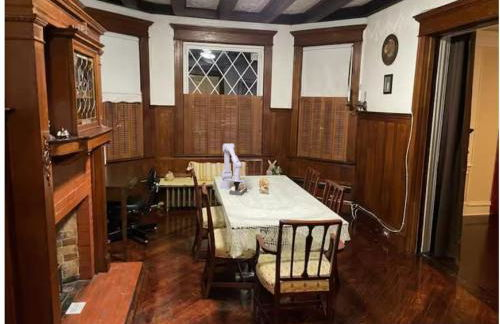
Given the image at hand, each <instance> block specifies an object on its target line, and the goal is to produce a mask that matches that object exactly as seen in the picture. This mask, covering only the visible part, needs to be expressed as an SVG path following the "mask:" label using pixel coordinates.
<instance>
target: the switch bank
mask: <svg viewBox="0 0 500 324" xmlns="http://www.w3.org/2000/svg"><path fill="white" fill-rule="evenodd" d="M247 190H248V187H247V186H244V188H242V189H238V190H235V191H232V189H229V191H228V193H229V195H232V196H240V197H241V196H242V195H244V194H245V193H246V192H248V191H247Z"/></svg>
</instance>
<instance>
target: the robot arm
mask: <svg viewBox="0 0 500 324" xmlns="http://www.w3.org/2000/svg"><path fill="white" fill-rule="evenodd" d="M222 152H223V154H224V155H223V159H224V161H223V162H224V165H223V168H224V169H223V170H221V174H220V177H221V179H220V183H219V189H220V190H232V187H233V186H231V183H233V185H234V187H235V189H236V190H238V186H239V185H240V184H245V183H246V180H245V179H244V180H243V179H241V169H242V167H243V165H242V162H241V161H240V159H239V157H238V155H236V152H235V144H234V143H223V144H222ZM230 156H231V158H230ZM230 160H231V162H232V167H233V171H232V170H231V169H230V168H231V167H230Z"/></svg>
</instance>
